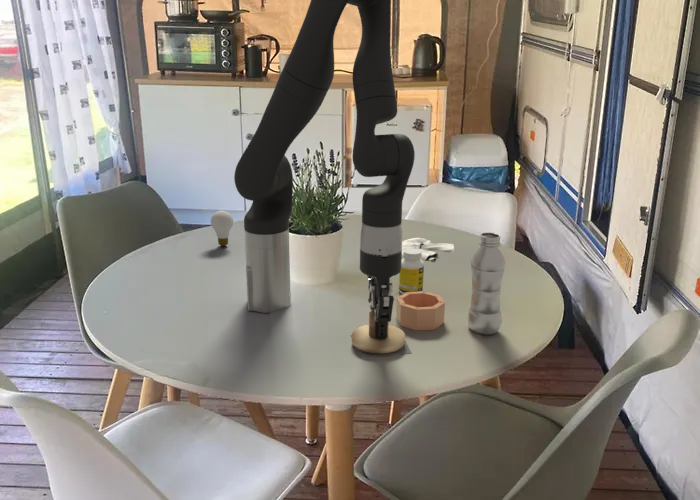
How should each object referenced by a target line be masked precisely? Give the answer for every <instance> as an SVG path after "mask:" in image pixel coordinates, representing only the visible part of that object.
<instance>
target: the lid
mask: <svg viewBox="0 0 700 500" xmlns="http://www.w3.org/2000/svg"><path fill="white" fill-rule="evenodd" d="M368 315H369V316H368V324H364V325H361V326H359V327H357V328H355V329H354V330H353V331H352V332H351V335H352V338H351V343H352V344H353V347H354V346H355V347H356V348H358V349H360V350H363V351H366V352H370V353H389V352H394V351H397V350H399V349H401V348H402V347H403V346H404V344H405V341H406V333H405V332H404V331H403V330H402V329H400V328H399V327H398V326H394V325H391V324H389V323H390V322H387V338H386V339H378V340H377V339H375V336H374V334H375V319H374V317H375V310H373V311H371V310H370V311H369V313H368ZM355 347H354V348H355Z"/></svg>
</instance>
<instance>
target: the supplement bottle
mask: <svg viewBox="0 0 700 500" xmlns="http://www.w3.org/2000/svg"><path fill="white" fill-rule="evenodd" d="M402 257H403V258H402V261H401V271H400V273H399V274H398V275H399V278H398V279H399V280H398V281H399V282H398V283H399V284H398V291H399V293H400V294H401V295H403V294H404V293H406V292H420V291H423V290H424V274H425V273H424V271H425V270H424V269H425V262H424V260H423V259H420V258H421V251H420V250H418V249H406V250H404V253H403V255H402Z"/></svg>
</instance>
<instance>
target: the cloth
mask: <svg viewBox="0 0 700 500" xmlns="http://www.w3.org/2000/svg"><path fill="white" fill-rule="evenodd" d="M406 249H418V250H420V251H421V258H420V259H421V260H422V261H425V262H426V261H427V260H428V261H430V262H431V263H435V260H437V259H438V256H439V253H437V252H441V253H442V252H445V253H455V252H456V251H455V246H454V244H453V243H446V242H445V243H444V242H441V243H440V242H438V243H436V242H435V243H432V242H431V240H428V239H426V238H421V237H414V238H413V237H411V238H409V239H405V240H402V256H403V253H404V250H406ZM429 250H430V251H429ZM436 251H437V252H436Z"/></svg>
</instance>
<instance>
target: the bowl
mask: <svg viewBox="0 0 700 500" xmlns="http://www.w3.org/2000/svg"><path fill="white" fill-rule="evenodd" d="M445 305H446V302H445V300H444V299H443V297H442V296H441V295H440V294H436V293H433V292H428V291H420V292H406V293H404V294H401V295H400V296H397V297H396V313H395V314H396V320H397V322H398V324H399V326H400V327H404V328H407V329H410V330H413V331H428V330H429V331H430V330H435V329H438V328H439V327H440V326H441V325H443V324H444V323H445V310H446V309H445V308H446V306H445Z"/></svg>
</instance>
